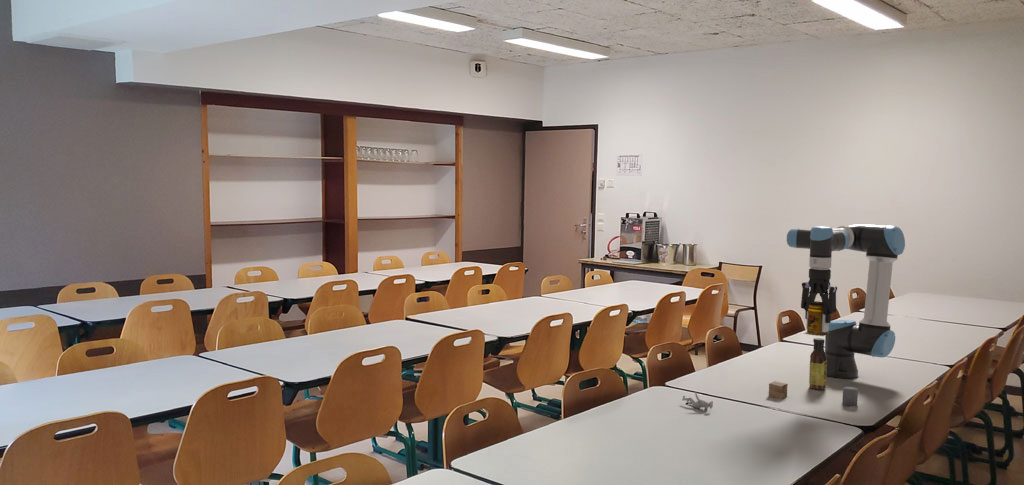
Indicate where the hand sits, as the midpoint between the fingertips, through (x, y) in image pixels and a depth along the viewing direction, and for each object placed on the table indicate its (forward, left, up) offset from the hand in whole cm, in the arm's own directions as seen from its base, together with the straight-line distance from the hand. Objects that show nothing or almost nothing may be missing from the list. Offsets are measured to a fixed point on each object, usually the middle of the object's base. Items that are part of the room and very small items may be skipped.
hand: (817, 329), depth 272 cm
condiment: (0, 0, -2) cm, 2 cm away
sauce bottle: (-15, -10, -27) cm, 33 cm away
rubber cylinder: (-7, +10, -27) cm, 30 cm away
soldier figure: (+46, -14, -27) cm, 55 cm away
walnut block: (+8, -10, -27) cm, 30 cm away
